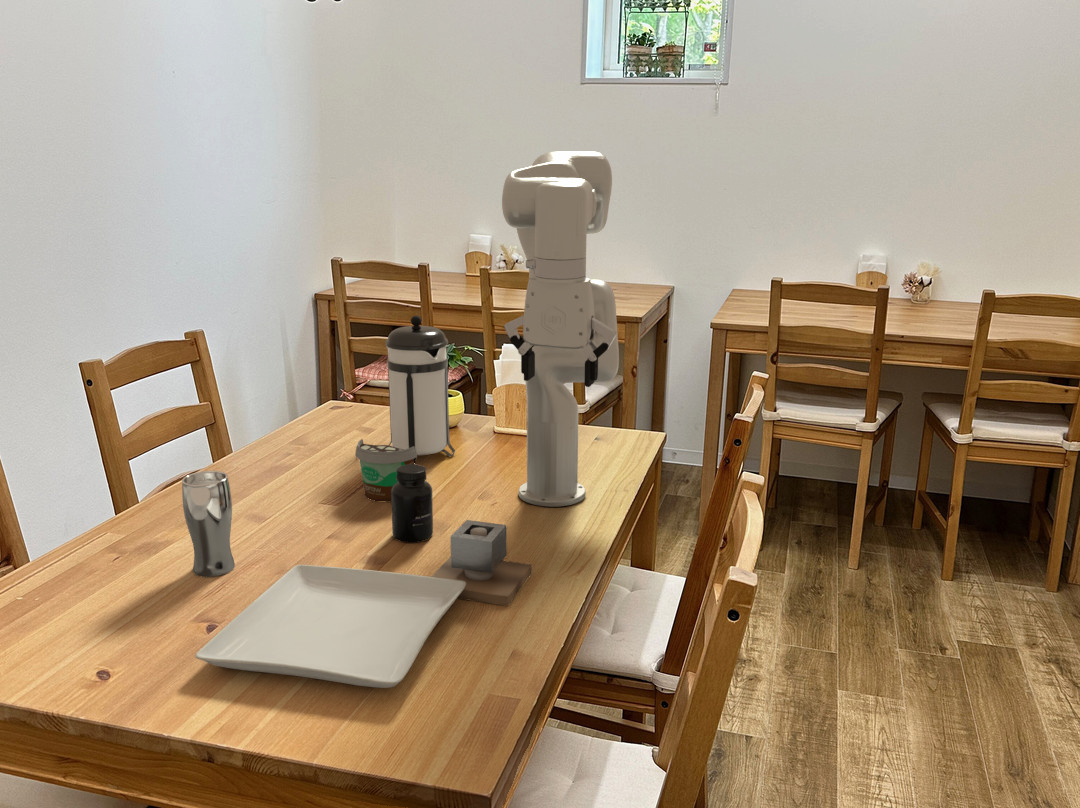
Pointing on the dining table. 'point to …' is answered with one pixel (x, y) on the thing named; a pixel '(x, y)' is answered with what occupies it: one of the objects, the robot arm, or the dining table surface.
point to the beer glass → (209, 521)
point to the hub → (478, 547)
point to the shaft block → (488, 579)
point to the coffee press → (418, 388)
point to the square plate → (335, 625)
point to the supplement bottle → (412, 505)
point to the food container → (381, 468)
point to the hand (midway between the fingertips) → (559, 381)
